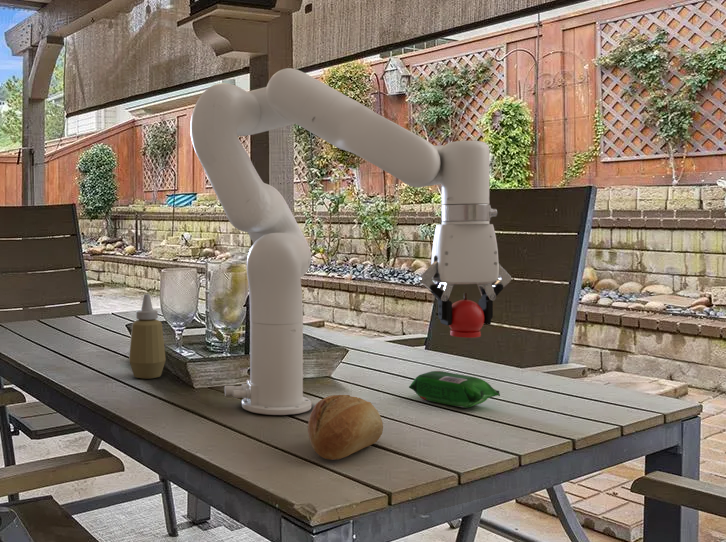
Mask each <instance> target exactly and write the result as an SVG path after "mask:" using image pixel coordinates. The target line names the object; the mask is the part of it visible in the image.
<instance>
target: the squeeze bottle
mask: <svg viewBox="0 0 726 542" xmlns="http://www.w3.org/2000/svg"><path fill="white" fill-rule="evenodd" d="M158 312H159V311H158V310H154V308H153V304H152V300H151V294H149V293H145V294H143V298H142V304H141V308H140V310H136V312H135V315H136V317H135V318H136V320H134V321H132V323H131V332H130V342H129V343H130V344H129V354H128V362H129V366H130V369H131V371H132V374H133V377H134V378H136V379H143V380H149V379H156V378H160V377H161V376H162V374H163V370H164V367H165V364H166V348H165V340H164V329H163V323H162V321H160V320H159V319H158V318H159V317H158V316H159V315H158V314H159V313H158Z"/></svg>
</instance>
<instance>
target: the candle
mask: <svg viewBox="0 0 726 542" xmlns="http://www.w3.org/2000/svg"><path fill="white" fill-rule="evenodd" d="M484 320H485V316H484V312H483V310H482V308H481V307H480V306H479V303H477V302H475V301H473V300H471V299H468V293H467V292H463V299H460V300H457V301H455V302H452V324H451V325H448V327H449V328H450V330H449V333H450V334H449V335H450V336H452V337H456V338H467V339H468V338H469V339H470V338H471V339H473V338H480V337H482V331H481V329H482V328H483V326H484V325H485V324H484Z"/></svg>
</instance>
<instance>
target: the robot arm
mask: <svg viewBox="0 0 726 542" xmlns="http://www.w3.org/2000/svg"><path fill="white" fill-rule="evenodd" d="M292 125H297V126H299V127H300V128H303V129H304V130H306V131H308V132H309V133H311V134H313V135H315V136H316V137H318V138H320V139H322V140H323V141H325V142H327V143H328V144H330V145H332V146H333V147H336V148H338V149H339V150H343V151H346V152H349V153H351V154H354V155H355V156H357V157H359V158H361V159H363V160H365V161H367V162H368V163H370V164H372V165H374V166H376V167H377V168H379V169H381V170H382V171H384V172H386V173H388V174H389V175H391V176H393V177H394V178H396V179H398V180H399V181H401V182H402V183H404V184H405V185H407V186H409V187H412V188H424V187H425V188H426V187H432V186H438V185H441V224H436V226H435V230H434V236H433V243H432V250H431V260H430V266H429V267H428V268H427V269H426V270H425V271H424V272H423V273H422V274H421V275H420V276H419V279H418V280H419V282H420V283H421V284H422V285H423V286H424V287H425V288H426V289H427V290H428V291H429V292H430V294H432V295H433V296H434V297H435V299H436V300H437V316H438V320H440V324H442V325H445V326H449V325H451V324H452V304H453V302H452V301H451V300H450V296H451V293H452V290H453V288H454V286H455V285H476V286H477V288H478V291H479V293H480V295H481V298H479V299H478V305H479V306H480V307H481V308H482V310H483V312H484V316H485V320H484V324H483V325H487V326H488V325H491V324H492V319H493V317H494V301H495V300H496V299H497V296H498V295H500V293H501V292H502V291H503V290H504V288H505V287H506V286H507V285H508V284H509V283H510V282H511V281H512V276H511V275H510V274H509V273H508V272H507V270H506V269H505V268H503V266H502V265H501V264H500V263H499V262H500V260H499V248H498V242H497V236H496V231H495V227H494V224H493V223H490V221H492V220H491V219H492V218H496V217H498V210H497V208H492V207H491V204H490V147H489V145H488V144H487V143H486V142H484V141H481V140H456V141H451V142H448V143H446V144H444V145H435V144H433V143H431V142H430V141H428V140H427V139H426V138H424V137H421V136H419V135H418V134H416V133H414V132H412V131H410V130H409V129H406V128H405V127H404V126H401V125H400V124H399V123H395V122H394V121H392V120H390V119H388V118H386V116H385V117H384V116H383V115H381V114H379V113H377V112H375V111H373V110H372V109H370V108H369V107H367V106H366V105H365V104H363V103H361V102H359V101H357V100H355V99H353V98H351V97H350V96H349V95H348V96H347V95H346V94H344V93H342V92H340V91H338V90H336V89H335V88H333V87H331V86H330V85H327V84H326V83H324V82H322V81H320V80H318V79H317V78H315V77H313V76H311V75H309V74H308V73H306V72H304V71H302V70H299V69H298V68H297V69H296V68H290V67H287V68H283V69H280V70H278V71H276V72H275V73H274V74H273V75H272V76H271V77H270V79H269V80H268V82H267V84H266V86H264V87H260V88H257V89H252V90H248V91H246V90H245V89H243V88H242V87H240V86H238V85H236V84H233V83H228V82H227V83H226V82H221V83H215V84H213V85H211V86H209V87H208V88H206V90H204V91H203V92H202V94H201V95H200V96H199V97H198V99H197V101H196V102H195V105H194V107H193V110H192V112H191V116H190V126H189V128H190V130H189V131H190V138H191V143H192V147H193V149H194V152H195V154H196V156H197V159H198V160H199V163H200V164H201V167H202V168H203V170H204V172H205V174H206V176H207V178H208V181H209V183H210V185H211V187H212V189H213V191H214V193H215V195H216V197H217V200H218V201H219V203H220V205H221V207H222V210H223V211H224V213H225V216H226V218H227V221H229V223H230V224H231V225H232V226H233V227H234V228H235V229H237V230H238V231H241V232H245V233H247V234H248V235H249V239H250V240H251V242H252V243H253V244H252V245H251V247H250V248H249V250H248V254H247V258H246V277H247V284H248V294H249V295H248V297H249V367H250V368H249V374H250V375H249V379H246V383H241V385H224V388H223V389H224V397H232V398H233V399H241V398H242V399H241V407H242V409H244V410H245V411H248V412H250V413H254V414H259V415H267V416H291V415H299V414H304V413H307V412H308V411H310V410H311V409H312V403H313V402H312V400H311V399H309V398H307V397H306V396H304V321H303V318H304V317H303V316H304V313H303V312H304V311H303V309H304V308H303V307H304V306H303V293H302V292H303V291H302V277H303V276H304V275H306V273H307V272H308V271H309V268H310V266H311V263H312V251H311V248H310V245H309V243H308V241H307V239H306V237H305V235H304V233H303V231H302V229H301V228H300V225H299V223H298V222H297V220H296V218H295V216H294V214H293V212H292V210H291V209H290V207H289V205H288V203H287V201H286V199H285V198H284V196H283V195H282V194H281V192H280V191H279V190H278V189H277V188H276V187H274V186H273V185H271V184H268V183H265V182H264V181H263V180H262V178H261V176H260V175H259V173H258V171H257V170H256V168H255V166H254V164H253V161H252V159H251V158H250V155H249V154H248V152H247V150H246V149H245V147H244V146H243V143H242V142H241V141H240V138H239V137H246V136H247V137H248V136H252V135H253V136H254V135H258V134H261V133H265V132H269V131H272V130H276V129H282V128H286V127H288V126H292ZM435 282H437V283H439V285H438V284H436V283H435Z"/></svg>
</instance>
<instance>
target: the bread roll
mask: <svg viewBox="0 0 726 542" xmlns="http://www.w3.org/2000/svg"><path fill="white" fill-rule="evenodd" d="M383 431H384V425H383V419H382V416H381V415H380V413H379V411H378V409H377V408H376V407H375V406H374V405H373V403H371V402H370V401H367V400H365V399H363V398H361V397H357V396H351V395H350V394H332V395H328V396H326V397H324V398H322V399H319V401H318V402H316V403H315V405H314V406H313V408H312V411H311V412H310V414H309V418H308V422H307V434H308V438H309V442H310V445H311V447H312V449H313V450H314V451H315V453H316V454H317V455H318V456H319V457H321V458H322V459H325V460H331V461H332V460H333V461H334V460H341V459H344V458H346V457H348V456H350V455H352V454H355V453H357V452H359V451H361V450H363V449H365V448H368V447H370V446H372V445H374V444H376V443H377V442H378V441H379V439H381V437H382V435H383Z"/></svg>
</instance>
